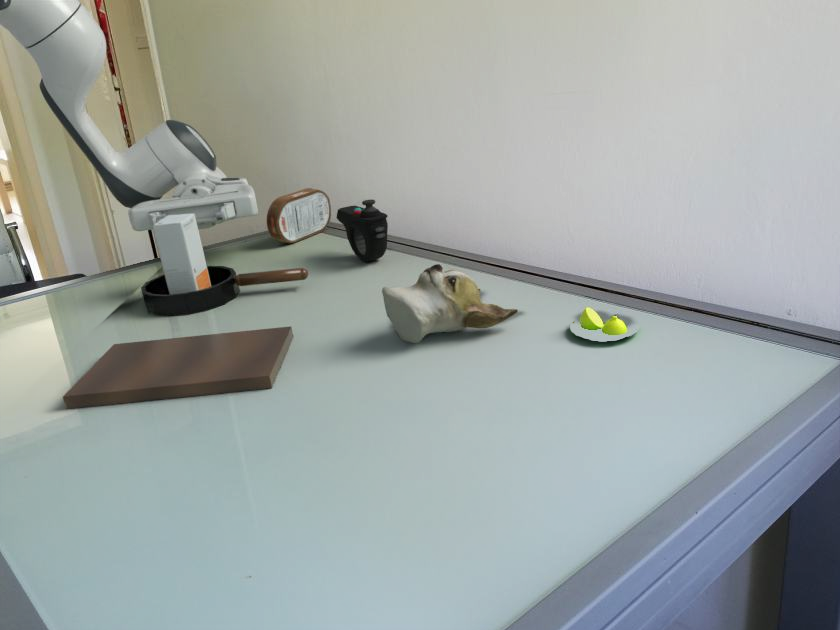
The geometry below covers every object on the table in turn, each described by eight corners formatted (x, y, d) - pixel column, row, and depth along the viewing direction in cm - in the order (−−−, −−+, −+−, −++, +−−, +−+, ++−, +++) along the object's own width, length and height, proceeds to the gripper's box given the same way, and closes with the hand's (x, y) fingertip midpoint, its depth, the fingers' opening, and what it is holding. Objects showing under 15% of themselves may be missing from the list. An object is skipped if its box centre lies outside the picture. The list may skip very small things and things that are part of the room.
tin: (324, 226, 142) (317, 183, 138) (337, 227, 140) (330, 183, 137) (270, 248, 130) (260, 201, 127) (282, 249, 129) (273, 202, 125)
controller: (373, 269, 113) (364, 206, 109) (339, 254, 122) (329, 195, 118) (397, 263, 115) (389, 200, 111) (362, 248, 125) (353, 190, 120)
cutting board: (66, 409, 77) (62, 396, 77) (117, 354, 90) (113, 343, 90) (272, 388, 77) (269, 375, 77) (293, 337, 90) (291, 326, 90)
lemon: (563, 344, 81) (562, 321, 80) (574, 317, 88) (574, 295, 87) (637, 347, 78) (637, 323, 77) (642, 319, 85) (643, 297, 84)
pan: (133, 320, 101) (126, 299, 100) (163, 288, 114) (158, 270, 112) (304, 302, 102) (300, 281, 100) (316, 273, 114) (313, 254, 112)
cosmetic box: (201, 304, 105) (180, 222, 100) (172, 306, 105) (150, 225, 100) (213, 289, 110) (195, 212, 105) (186, 292, 110) (166, 214, 106)
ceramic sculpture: (364, 263, 86) (476, 244, 92) (370, 331, 89) (477, 309, 95) (399, 287, 77) (520, 264, 83) (404, 362, 80) (520, 335, 86)
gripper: (133, 191, 124) (114, 209, 111) (255, 176, 127) (250, 191, 114) (142, 228, 126) (125, 249, 114) (262, 212, 129) (258, 230, 117)
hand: (189, 220), depth 114 cm, fingers open, 8 cm apart
